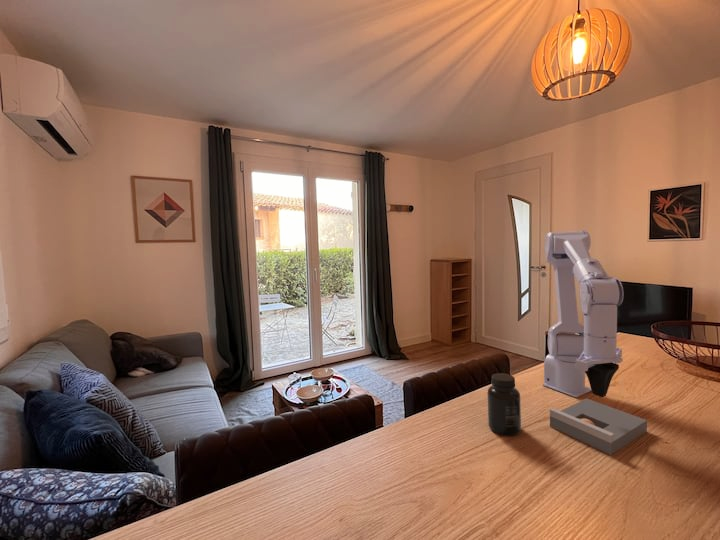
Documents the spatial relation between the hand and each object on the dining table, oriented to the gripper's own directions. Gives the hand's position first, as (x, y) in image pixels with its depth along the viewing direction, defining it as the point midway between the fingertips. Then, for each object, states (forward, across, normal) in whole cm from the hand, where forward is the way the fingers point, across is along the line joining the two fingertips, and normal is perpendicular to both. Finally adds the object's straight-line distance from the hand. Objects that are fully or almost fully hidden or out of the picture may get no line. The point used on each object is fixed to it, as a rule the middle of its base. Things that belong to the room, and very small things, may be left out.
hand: (599, 394), depth 72 cm
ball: (+6, -5, 0) cm, 8 cm away
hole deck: (+8, 0, 0) cm, 8 cm away
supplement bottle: (+8, -17, +11) cm, 22 cm away
